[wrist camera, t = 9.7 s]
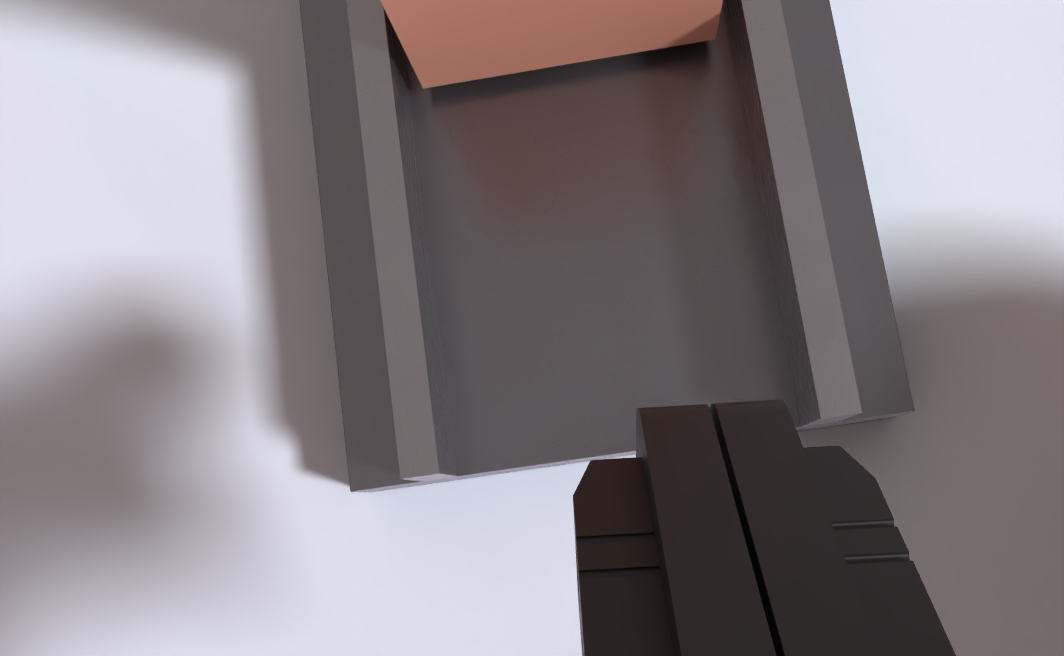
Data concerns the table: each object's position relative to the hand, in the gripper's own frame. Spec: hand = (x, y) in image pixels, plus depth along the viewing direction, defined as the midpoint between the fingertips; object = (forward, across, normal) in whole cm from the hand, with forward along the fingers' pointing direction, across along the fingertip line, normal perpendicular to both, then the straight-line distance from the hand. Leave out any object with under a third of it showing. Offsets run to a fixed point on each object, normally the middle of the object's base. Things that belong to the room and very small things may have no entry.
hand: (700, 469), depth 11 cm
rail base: (+14, +1, 0) cm, 14 cm away
